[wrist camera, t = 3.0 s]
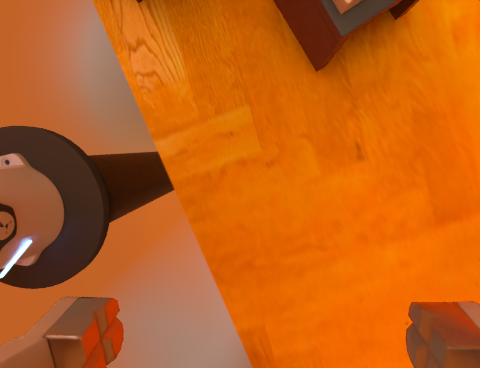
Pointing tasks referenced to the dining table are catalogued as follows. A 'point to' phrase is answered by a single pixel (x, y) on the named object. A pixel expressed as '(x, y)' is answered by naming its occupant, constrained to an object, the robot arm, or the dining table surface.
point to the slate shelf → (333, 22)
